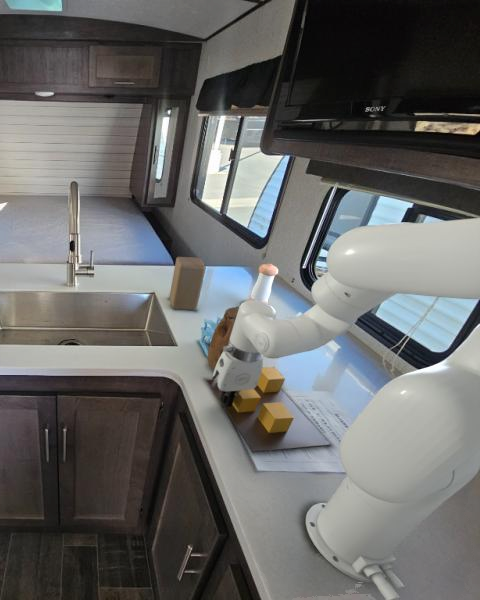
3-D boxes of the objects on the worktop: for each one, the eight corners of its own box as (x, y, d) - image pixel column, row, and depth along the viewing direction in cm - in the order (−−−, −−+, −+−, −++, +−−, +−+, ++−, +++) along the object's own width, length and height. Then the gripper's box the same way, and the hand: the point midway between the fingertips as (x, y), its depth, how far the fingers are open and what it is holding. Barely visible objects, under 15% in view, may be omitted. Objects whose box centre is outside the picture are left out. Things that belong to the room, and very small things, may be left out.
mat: (330, 445, 77) (330, 444, 77) (252, 452, 75) (253, 451, 75) (268, 376, 98) (268, 375, 98) (206, 380, 96) (206, 379, 96)
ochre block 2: (279, 391, 92) (285, 378, 90) (263, 392, 92) (268, 379, 89) (268, 379, 97) (274, 366, 94) (253, 380, 96) (258, 367, 94)
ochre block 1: (255, 411, 86) (261, 397, 83) (238, 412, 85) (243, 399, 83) (245, 397, 90) (249, 383, 88) (228, 398, 90) (232, 385, 87)
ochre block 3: (287, 431, 80) (294, 417, 78) (269, 433, 80) (275, 419, 77) (274, 415, 85) (280, 402, 82) (257, 416, 84) (262, 403, 82)
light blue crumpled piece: (211, 339, 114) (219, 310, 109) (227, 353, 108) (237, 323, 102) (193, 343, 112) (200, 314, 106) (208, 357, 105) (217, 327, 100)
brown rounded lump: (229, 355, 107) (245, 303, 97) (245, 370, 100) (264, 316, 91) (201, 361, 104) (215, 308, 94) (216, 376, 98) (233, 321, 88)
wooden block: (191, 299, 140) (201, 257, 130) (196, 311, 131) (207, 266, 122) (168, 298, 141) (176, 255, 131) (172, 309, 132) (180, 265, 122)
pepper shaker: (262, 301, 140) (276, 260, 130) (269, 310, 133) (284, 267, 124) (244, 300, 140) (257, 259, 131) (250, 309, 134) (264, 266, 125)
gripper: (222, 361, 73) (205, 416, 82) (282, 357, 75) (259, 411, 84) (207, 341, 80) (193, 394, 89) (263, 338, 82) (243, 390, 91)
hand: (225, 402), depth 86 cm, fingers closed
